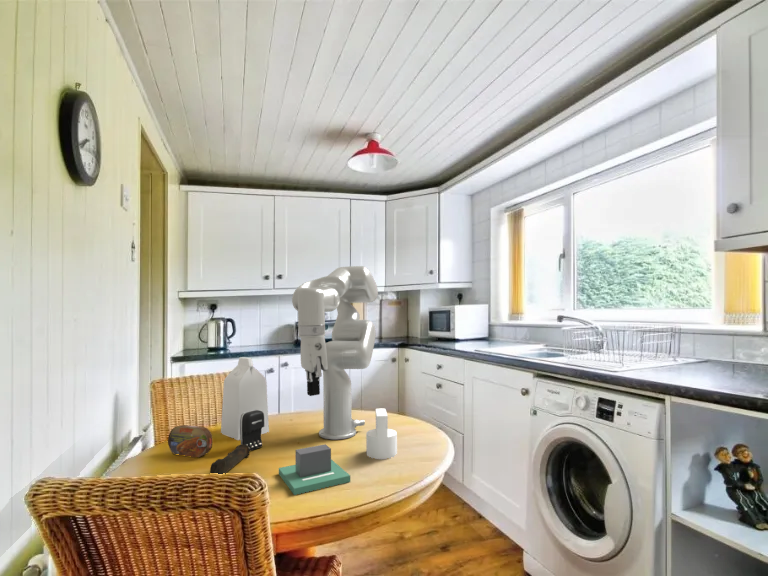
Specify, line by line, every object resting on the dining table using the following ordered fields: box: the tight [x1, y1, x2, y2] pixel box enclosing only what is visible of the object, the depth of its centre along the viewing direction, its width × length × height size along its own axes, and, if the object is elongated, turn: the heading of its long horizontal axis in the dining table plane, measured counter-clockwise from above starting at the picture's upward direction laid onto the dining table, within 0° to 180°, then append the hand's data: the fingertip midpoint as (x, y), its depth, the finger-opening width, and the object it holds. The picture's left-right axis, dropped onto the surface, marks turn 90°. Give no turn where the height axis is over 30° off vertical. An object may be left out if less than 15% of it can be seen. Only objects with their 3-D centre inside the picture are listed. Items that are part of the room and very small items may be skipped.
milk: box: [220, 356, 270, 441], centre depth 140 cm, size 12×12×26 cm
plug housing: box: [295, 443, 332, 478], centre depth 101 cm, size 8×4×6 cm, turn 119°
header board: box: [278, 458, 351, 496], centre depth 101 cm, size 14×14×5 cm
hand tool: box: [209, 443, 251, 474], centre depth 107 cm, size 19×4×5 cm, turn 173°
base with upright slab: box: [365, 407, 398, 460], centre depth 117 cm, size 9×9×12 cm
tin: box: [167, 424, 213, 458], centre depth 118 cm, size 15×3×8 cm, turn 70°
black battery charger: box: [240, 410, 264, 452], centre depth 123 cm, size 7×4×11 cm, turn 146°
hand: (313, 394), depth 115 cm, fingers closed
